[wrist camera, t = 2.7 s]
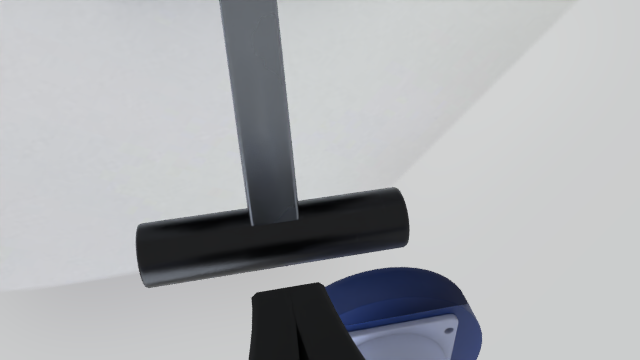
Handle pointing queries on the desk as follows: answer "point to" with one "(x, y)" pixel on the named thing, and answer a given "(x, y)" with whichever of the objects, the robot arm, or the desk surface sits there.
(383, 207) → the tap lever
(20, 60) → the desk surface
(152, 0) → the desk surface
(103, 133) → the desk surface
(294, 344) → the robot arm
